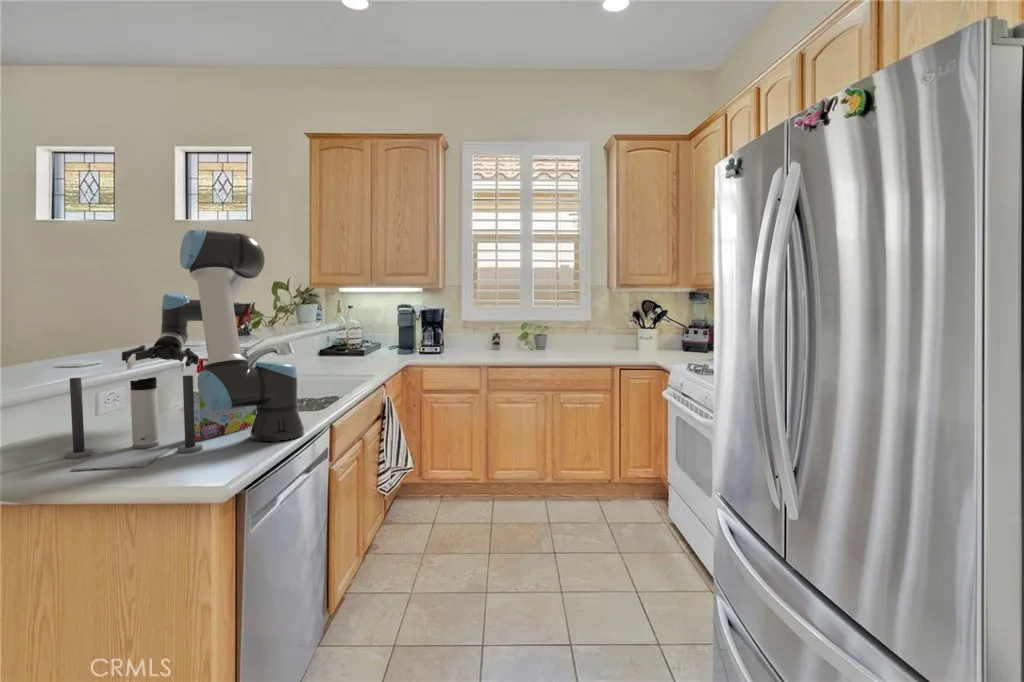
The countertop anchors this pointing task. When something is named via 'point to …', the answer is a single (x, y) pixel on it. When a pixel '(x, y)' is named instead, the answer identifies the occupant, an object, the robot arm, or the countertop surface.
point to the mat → (121, 459)
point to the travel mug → (144, 413)
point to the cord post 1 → (77, 421)
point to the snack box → (219, 419)
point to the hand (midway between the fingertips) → (156, 366)
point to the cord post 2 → (189, 417)
